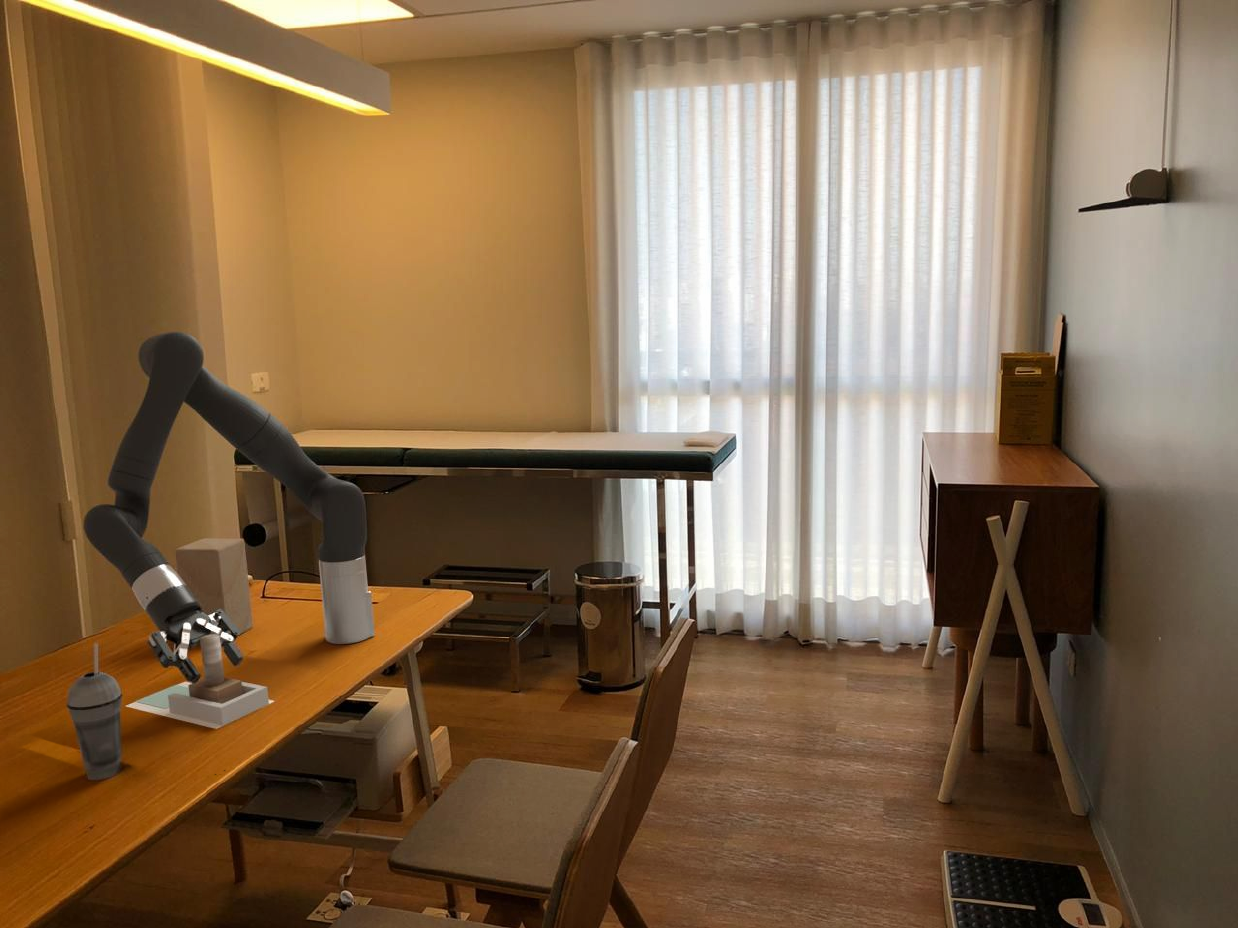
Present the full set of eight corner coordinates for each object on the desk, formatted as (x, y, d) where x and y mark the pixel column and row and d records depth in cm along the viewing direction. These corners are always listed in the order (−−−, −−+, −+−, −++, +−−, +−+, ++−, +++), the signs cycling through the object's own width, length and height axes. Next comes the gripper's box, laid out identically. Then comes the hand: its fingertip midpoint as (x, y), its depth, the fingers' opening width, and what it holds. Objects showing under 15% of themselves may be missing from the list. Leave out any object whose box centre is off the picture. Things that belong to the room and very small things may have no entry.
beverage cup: (90, 763, 148) (73, 637, 145) (139, 759, 149) (123, 634, 145) (67, 786, 141) (49, 654, 138) (119, 782, 141) (102, 651, 138)
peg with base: (243, 703, 164) (236, 635, 162) (219, 714, 160) (211, 644, 158) (215, 696, 168) (208, 630, 166) (190, 707, 163) (182, 639, 161)
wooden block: (227, 642, 202) (216, 549, 199) (184, 641, 204) (173, 549, 201) (254, 627, 212) (244, 537, 209) (213, 626, 214) (203, 537, 211)
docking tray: (275, 709, 166) (273, 684, 165) (217, 737, 156) (214, 710, 155) (186, 689, 177) (183, 665, 176) (125, 714, 166) (122, 689, 166)
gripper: (136, 595, 158) (191, 673, 154) (209, 573, 170) (262, 644, 167) (119, 623, 161) (172, 699, 158) (192, 599, 174) (244, 669, 170)
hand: (218, 671), depth 162 cm, fingers open, 8 cm apart
